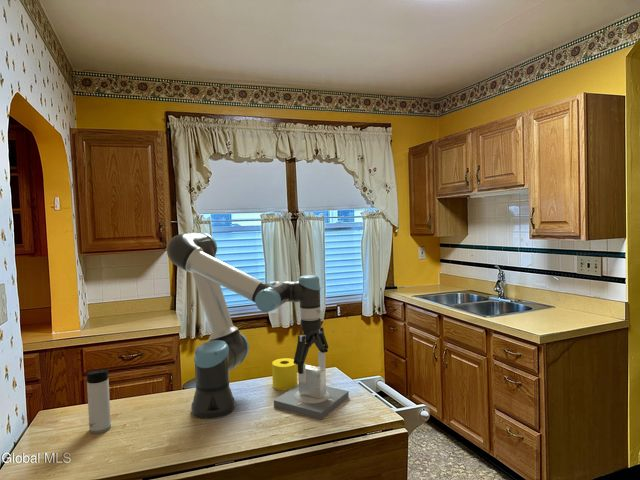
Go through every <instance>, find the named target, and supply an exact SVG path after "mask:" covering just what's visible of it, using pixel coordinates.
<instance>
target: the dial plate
mask: <svg viewBox="0 0 640 480" xmlns="http://www.w3.org/2000/svg"><path fill="white" fill-rule="evenodd" d="M349 393H350V391H349V390H346V389H341V388H337V387H332V386H328V385H326V394H325V395H324V396H323V397H321V398H320V399H319V398H315V397H311V396H307V395H303V394H299V384H297V386H295V387H294V388H292V389H290V390H287V391H286V392H284V393H283V394H281V395H280V396H278V397H276V398H275V399H273V407H274V408H276V409H280V410H285V411H288V412H292V413H295V414H298V415H303V416H306V417H309V418H313V419H316V420H320V421H321V420H323V419H325V418H326V417H327V416H328V415H329V414H330V413H332V412H333V411H334V410H335V409H337V408H338V407H339V406H340V405H341V404H343V403H344V402H345V401H347V400H348V399H349V398H350V397H349Z"/></svg>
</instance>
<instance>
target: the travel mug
mask: <svg viewBox="0 0 640 480" xmlns="http://www.w3.org/2000/svg"><path fill="white" fill-rule="evenodd" d="M86 379H87V380H86V390H87V391H86V392H87V407H88V409H87V410H88V425H89V430H88V431H89V432H90V433H91V434H93V435H96V434H97V435H98V434H102V433H105V432H108V431H109V430H110V429H111V426H112V423H111V421H112V420H111V402H110V384H109V383H110V381H109V369H107V368H105V369H104V368H103V369H97V370H90V371H88V372H87V373H86Z"/></svg>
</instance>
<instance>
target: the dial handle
mask: <svg viewBox="0 0 640 480" xmlns="http://www.w3.org/2000/svg"><path fill="white" fill-rule="evenodd" d="M326 371H327V369H325V368H320V367H318V366H316V365H310V364H306V382H305V383H304V382H299V381H298V385H299V394H303V395H307V396H311V397H315V398H319V399H320V398H321V397H323V396H324V395H325V394H326V386H327V385H326V383H327V379H326V378H327V376H326V375H327V374H326Z"/></svg>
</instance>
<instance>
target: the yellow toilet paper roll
mask: <svg viewBox="0 0 640 480" xmlns="http://www.w3.org/2000/svg"><path fill="white" fill-rule="evenodd" d="M293 362H294V358H288V357H287V358H286V357H284V358H277V359H275V360H272V362H271V364H272V365H271V372H272V373H271V374H272V388H273V389H275V390H279V391H289V389H290V390H291V389H292V388H294V387H295V386H297V385H298V365H297V364H294V363H293Z"/></svg>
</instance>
